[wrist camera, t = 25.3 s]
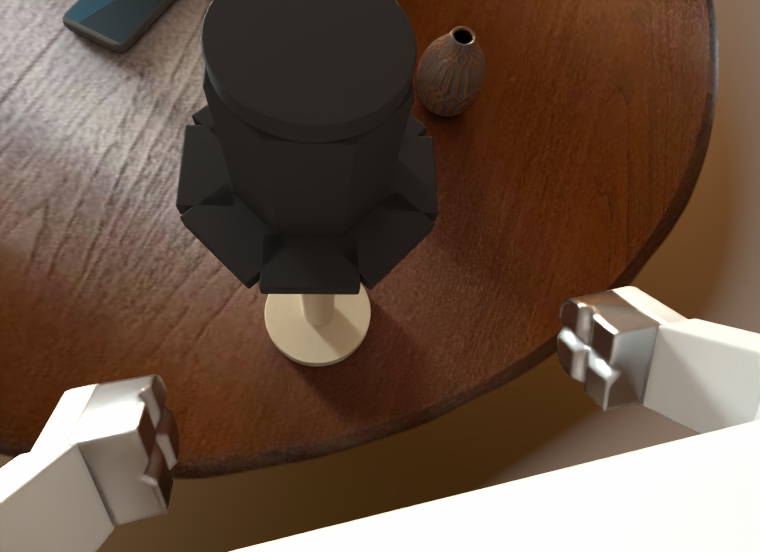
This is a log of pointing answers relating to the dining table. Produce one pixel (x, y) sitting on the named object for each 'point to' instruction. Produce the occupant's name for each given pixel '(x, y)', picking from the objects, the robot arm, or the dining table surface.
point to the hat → (308, 145)
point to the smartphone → (113, 20)
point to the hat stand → (317, 325)
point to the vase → (451, 73)
